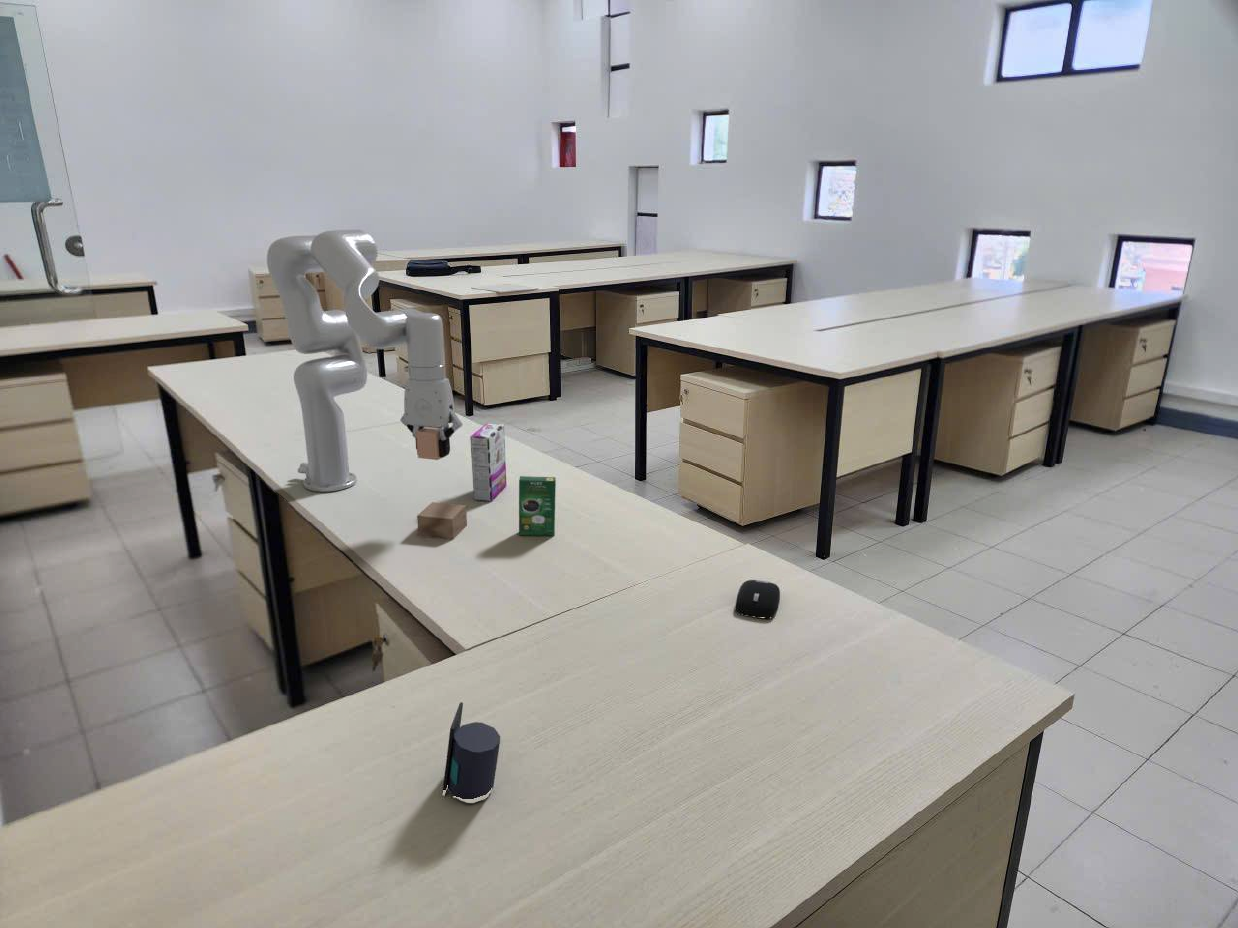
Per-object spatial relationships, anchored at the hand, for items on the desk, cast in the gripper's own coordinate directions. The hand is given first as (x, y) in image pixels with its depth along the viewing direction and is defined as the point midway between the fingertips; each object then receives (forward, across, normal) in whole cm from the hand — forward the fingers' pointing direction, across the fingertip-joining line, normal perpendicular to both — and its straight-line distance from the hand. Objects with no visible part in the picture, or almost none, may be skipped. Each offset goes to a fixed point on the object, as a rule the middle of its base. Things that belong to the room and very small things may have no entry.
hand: (433, 453), depth 179 cm
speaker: (+18, +47, -73) cm, 89 cm away
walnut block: (+17, +3, -4) cm, 17 cm away
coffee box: (+17, +23, +2) cm, 29 cm away
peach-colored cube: (0, 0, 0) cm, 0 cm away
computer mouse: (+18, +74, -12) cm, 77 cm away
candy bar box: (+16, +3, +20) cm, 26 cm away
